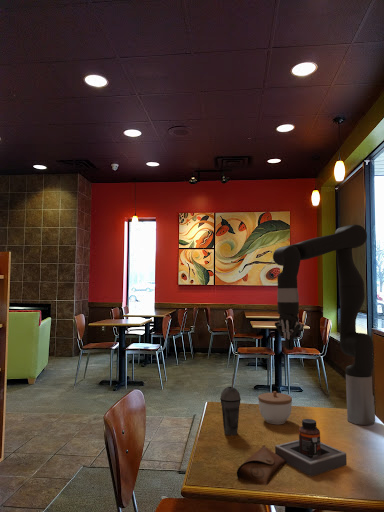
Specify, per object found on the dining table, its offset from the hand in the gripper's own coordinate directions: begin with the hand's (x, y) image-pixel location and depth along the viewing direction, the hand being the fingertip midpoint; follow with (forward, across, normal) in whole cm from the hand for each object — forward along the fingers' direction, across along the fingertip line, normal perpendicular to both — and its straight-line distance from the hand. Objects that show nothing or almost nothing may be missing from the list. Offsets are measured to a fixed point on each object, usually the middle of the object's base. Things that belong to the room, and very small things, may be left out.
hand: (289, 349), depth 139 cm
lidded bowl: (+29, +12, -3) cm, 31 cm away
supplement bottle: (+28, -20, +13) cm, 37 cm away
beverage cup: (+28, +10, +20) cm, 36 cm away
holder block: (+28, -20, +13) cm, 37 cm away
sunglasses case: (+29, -17, +28) cm, 44 cm away
